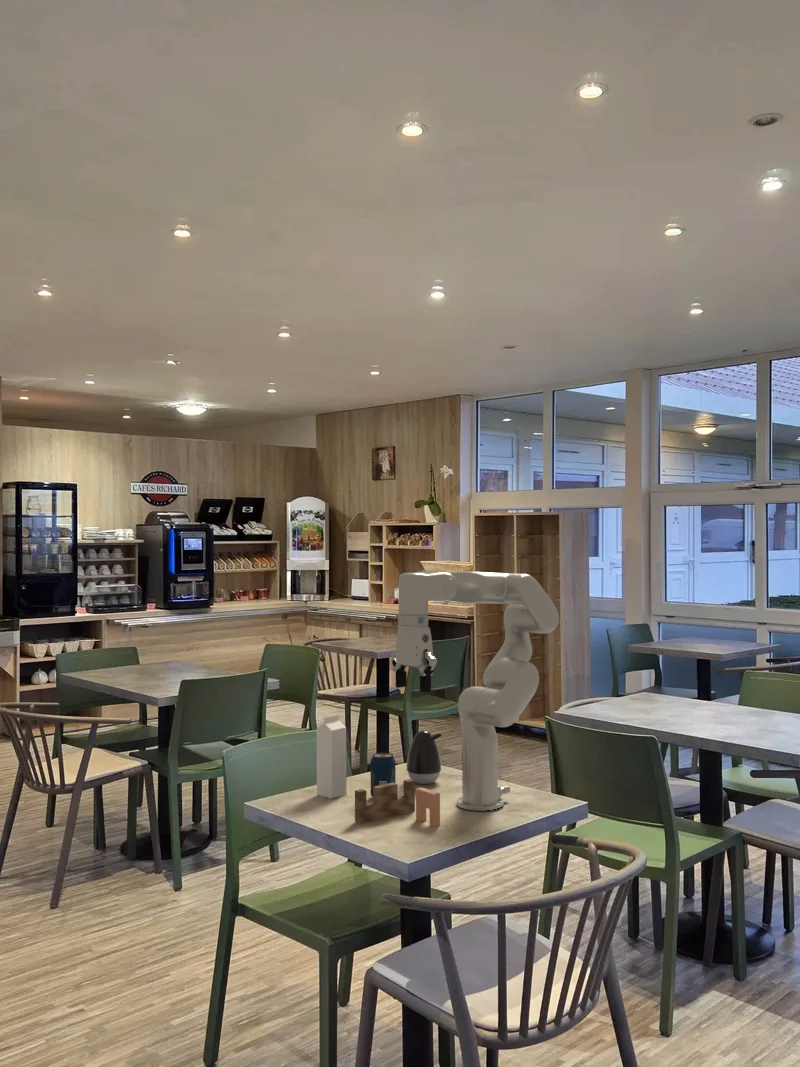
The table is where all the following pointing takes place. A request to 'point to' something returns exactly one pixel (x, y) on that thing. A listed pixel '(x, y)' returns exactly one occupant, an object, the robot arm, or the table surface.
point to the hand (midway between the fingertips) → (413, 689)
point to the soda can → (382, 770)
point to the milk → (331, 758)
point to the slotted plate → (428, 805)
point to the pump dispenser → (424, 758)
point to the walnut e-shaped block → (384, 802)
